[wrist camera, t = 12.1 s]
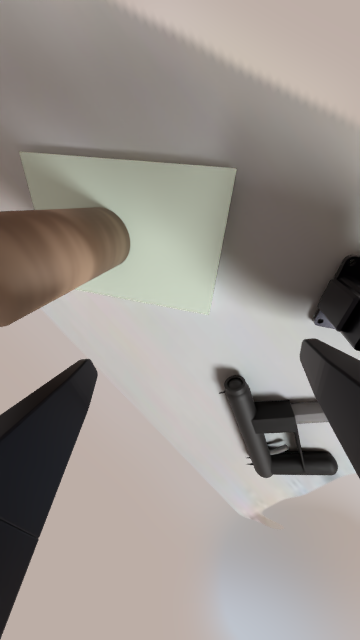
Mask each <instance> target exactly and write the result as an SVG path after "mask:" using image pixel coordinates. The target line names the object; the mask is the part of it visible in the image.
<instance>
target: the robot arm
mask: <svg viewBox="0 0 360 640" xmlns="http://www.w3.org/2000/svg"><path fill="white" fill-rule="evenodd" d="M353 259H354V262H353V263H352V264H349V262H350V260H353ZM318 307H319V308H318V310H317V312H316V314H315V316H314V318H313V322H314V323H315V325H317V326H322V327H327V328H333V329H336V330H337V331H338V332H341V333H342V334H343V336H344V337H345V338H346V339H347V341H348V342H349V343H350V344H351V346H352V347H353V348H354V349H355V350H357V351H360V256H357V255H350V256H347V257H346V258H345V259H344V260H343V262H342V264H341V266H340V268H339V270H338V272H337V274H336V275H335V277H334V279H332V280H331V281H330V282H329V284H328V286H327V288H326V290H325V292H324V294H323V296H322V298H321V300H320V302H319V304H318ZM319 319H322V320H321V321H318V320H319ZM300 361H301V363H302V366H303V368H304V371H305V373H306V376H307V378H308V381H309V383H310V386H311V388H312V390H313V393H314V395H315V397H316V399H317V401H318V403H319V405H320V407H321V409H322V410H323V412H324V414H325V416H326V418H327V420H328V421H329V423H330V425H331V427H332V429H333V431H334V432H335V434H336V436H337V438H338V440H339V442H340V443H341V445H342V447H343V449H344V451H345V453H346V454H347V456H348V458H349V460H350V462H351V464H352V465H353V467H354V469H355V471H356V473H357V475H358V476H359V478H360V361H359V360H358V359H356V358H354V357H352V356H350V355H348V354H346V353H344V352H342V351H340V350H338V349H336V348H334V347H332V346H330V345H328V344H326V343H324V342H322V341H320V340H318V339H305V340H303V342H302V346H301V351H300ZM96 380H97V370H96V368H95V367H94V365H93V363H92V361H91V360H90V359H82V360H79V361H77V362H76V363H75V364H73V365H72V366H70V367H69V368H67V369H66V370H65V371H63V372H62V373H60V374H59V375H57V376H56V377H54V378H53V379H52V380H50V381H49V382H47V383H46V384H44V385H43V386H42V387H40V388H39V389H37V390H36V391H34V392H33V393H31V394H30V395H29V396H27V397H26V398H24V399H23V400H22V401H20V402H19V403H17V404H16V405H14V406H13V407H11V408H10V409H8V410H7V411H6V412H4V413H3V414H1V415H0V639H1V636H2V634H3V631H4V628H5V626H6V623H7V621H8V618H9V615H10V613H11V610H12V608H13V605H14V602H15V600H16V597H17V594H18V592H19V589H20V586H21V584H22V581H23V579H24V576H25V574H26V571H27V568H28V566H29V563H30V560H31V558H32V555H33V553H34V550H35V547H36V545H37V542H38V538H39V536H40V534H41V531H42V529H43V526H44V524H45V521H46V518H47V516H48V513H49V510H50V508H51V505H52V503H53V500H54V497H55V495H56V492H57V489H58V487H59V484H60V482H61V479H62V477H63V474H64V471H65V469H66V466H67V464H68V461H69V458H70V456H71V453H72V451H73V448H74V445H75V443H76V440H77V437H78V435H79V432H80V429H81V427H82V424H83V422H84V419H85V417H86V414H87V411H88V408H89V405H90V402H91V398H92V394H93V391H94V387H95V384H96Z"/></svg>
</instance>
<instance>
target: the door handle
mask: <svg viewBox="0 0 360 640" xmlns="http://www.w3.org/2000/svg"><path fill="white" fill-rule="evenodd" d="M220 393H226V396H227V399H228V401H229V404H230V406H231V409H232V411H233V414H234V417H235V419H236V422H237V424H238V427H239V429H240V432H241V435H242V437H243V440H244V442H245V445H246V447H247V450H248V453H249V455H250V457H247V458H251V460H252V463H251V464H248V465H254V468H255V470H256V472H257V473H258V474H259V475H260V476H261V477H264V478H268V477H271V476H272V475H273V474H274V475H334V474H335V473H336V472H337V469H338V465H337V462H336V460H335V458H334V457H333V456H332V455H331V454H329V453H327V452H302V450H301V445H300V440H299V435H298V429H297V424H302V423H318V422H329V421H328V420H327V418H326V416H325V414H324V412H323V410H322V409H321V407H320V405H319V403H318V402H305V403H294V404H290V401H289V400H281V401H262V402H254V401H253V398H252V395H251V391H250V388H249V386H248V384H247V383H246V382H245V379H244V378H243V377H241V376H231V377H229V378H228V379H227V380H226V381H225V391H223V392H220ZM220 393H219V394H220ZM282 432H294V434H295V439H296V443H297V448H298V452H296V453H281V452H284V451H286V450H288V449H289V448H288V446H287V445H286V444H285V445H283V446H281V447H278V448H276V449H272V450H269V449H268V446H267V442H266V439H265V436H264V433H282Z"/></svg>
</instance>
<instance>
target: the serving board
mask: <svg viewBox="0 0 360 640" xmlns="http://www.w3.org/2000/svg"><path fill="white" fill-rule="evenodd" d="M19 154H20V158H21V161H22V165H23V169H24V173H25V176H26V180H27V184H28V188H29V191H30V195H31V199H32V203H33V206H34V210H47V209H70V208H92V207H102V208H106V209H109V210H111V211H112V212H114V213H115V214H116V215H118V216H119V218H120V219H121V220H122V221H123V223H124V224H125V226H126V228H127V230H128V233H129V237H130V251H129V254H128V257H127V258H126V260H125V261H124V262H123V263H121V264H120V265H118V266H116V267H114V268H112V269H111V270H109V271H107V272H105V273H103V274H101V275H100V276H98V277H96V278H94V279H92V280H90V281H88V282H87V283H85V284H83V285H81V286H79V287H77V288H76V289H75V290H80V291H85V292H90V293H96V294H101V295H106V296H111V297H116V298H122V299H127V300H132V301H137V302H143V303H148V304H153V305H158V306H164V307H169V308H174V309H179V310H185V311H190V312H195V313H200V314H206V315H209V312H210V307H211V302H212V297H213V292H214V286H215V281H216V276H217V271H218V265H219V260H220V255H221V250H222V244H223V239H224V234H225V229H226V223H227V218H228V213H229V208H230V202H231V197H232V192H233V187H234V181H235V176H236V171H237V168H227V167H214V166H201V165H188V164H175V163H162V162H149V161H136V160H123V159H110V158H97V157H84V156H71V155H58V154H45V153H32V152H19Z"/></svg>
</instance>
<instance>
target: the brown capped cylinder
mask: <svg viewBox="0 0 360 640" xmlns="http://www.w3.org/2000/svg"><path fill="white" fill-rule="evenodd" d="M129 251H130V237H129V233H128V230H127V228H126V226H125V224H124V223H123V221H122V220H121V219H120V218H119V216H118V215H116V214H115V213H114V212H112V211H111V210H109V209H106V208H102V207H92V208H70V209H47V210H25V211H3V212H0V327H3V326H7V325H10V324H11V323H13V322H15V321H17V320H18V319H21V318H22V317H24V316H26V315H27V314H30V313H32V312H33V311H35V310H37V309H39V308H41V307H43V306H44V305H46V304H48V303H50V302H52V301H54V300H55V299H57V298H59V297H61V296H63V295H65V294H66V293H68V292H70V291H72V290H74V289H76V288H77V287H79V286H81V285H83V284H85V283H87V282H88V281H90V280H92V279H94V278H96V277H98V276H100V275H101V274H103V273H105V272H107V271H109V270H111V269H112V268H114V267H116V266H118V265H120V264H121V263H123V262H124V261H125V260H126V258H127V257H128V254H129Z"/></svg>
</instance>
